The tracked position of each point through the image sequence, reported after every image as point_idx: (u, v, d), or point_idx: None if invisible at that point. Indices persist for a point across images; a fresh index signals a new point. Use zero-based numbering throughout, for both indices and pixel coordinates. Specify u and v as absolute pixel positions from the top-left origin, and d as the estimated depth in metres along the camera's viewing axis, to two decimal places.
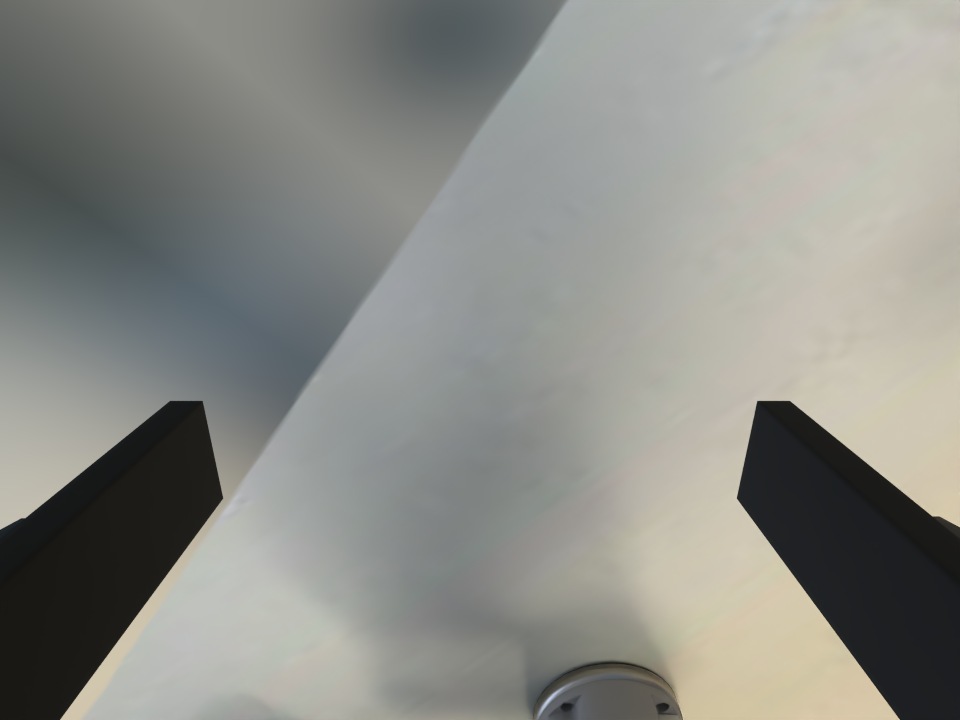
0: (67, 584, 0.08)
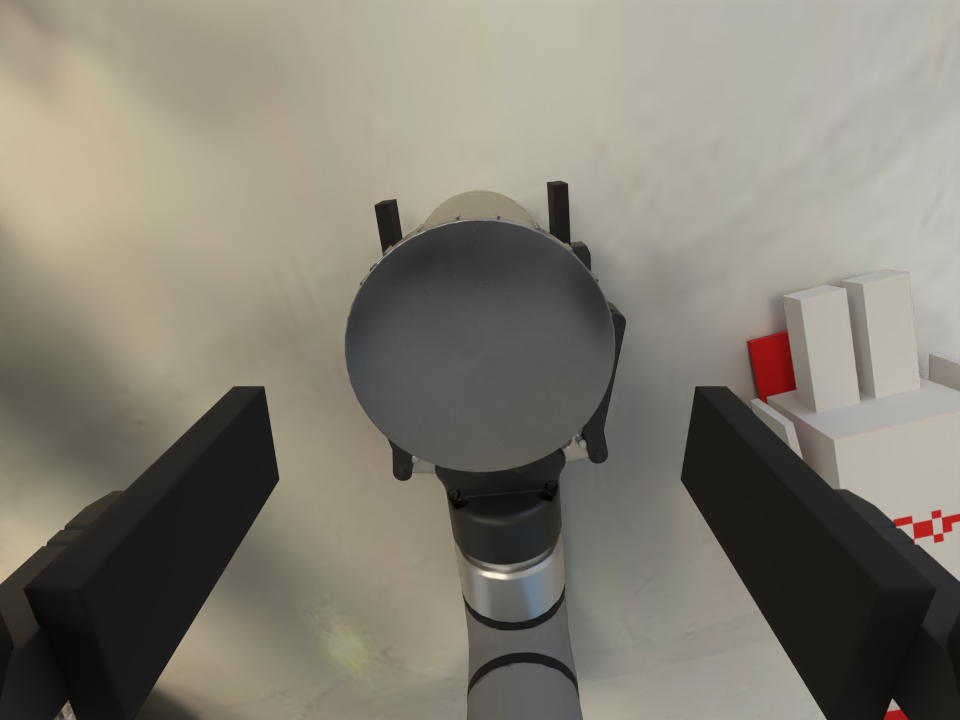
0: (167, 548, 0.09)
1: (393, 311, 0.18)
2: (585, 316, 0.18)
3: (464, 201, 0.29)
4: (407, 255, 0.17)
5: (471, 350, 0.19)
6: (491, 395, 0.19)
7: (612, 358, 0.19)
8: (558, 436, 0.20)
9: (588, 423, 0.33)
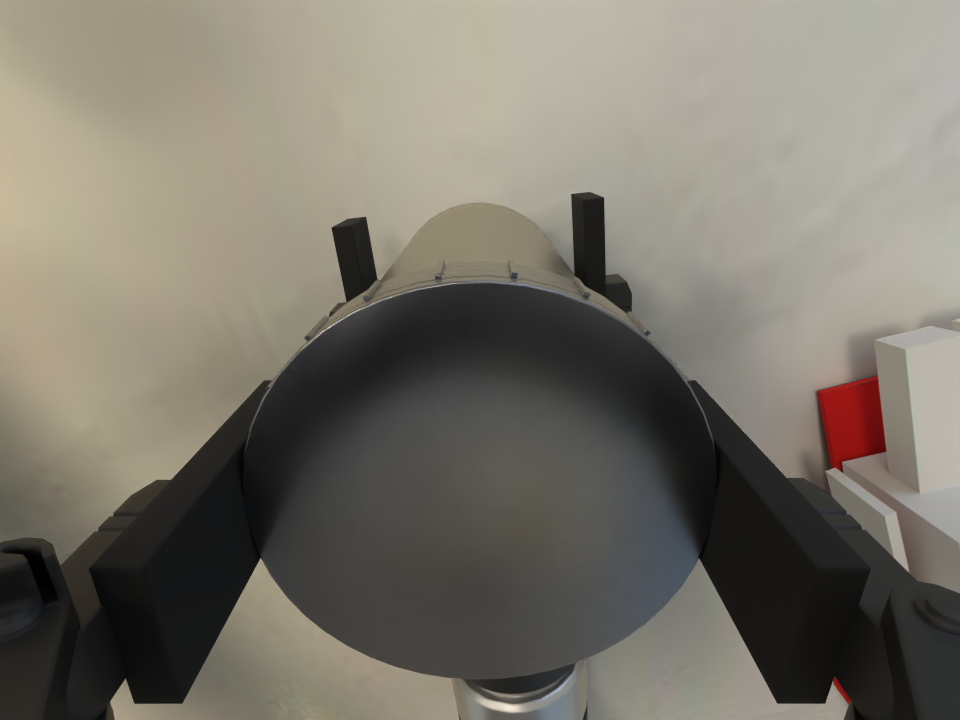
0: (214, 533, 0.09)
1: (324, 439, 0.10)
2: (668, 447, 0.10)
3: (458, 221, 0.21)
4: (345, 345, 0.09)
5: (464, 501, 0.11)
6: (499, 570, 0.11)
7: (711, 514, 0.11)
8: (611, 629, 0.12)
9: None
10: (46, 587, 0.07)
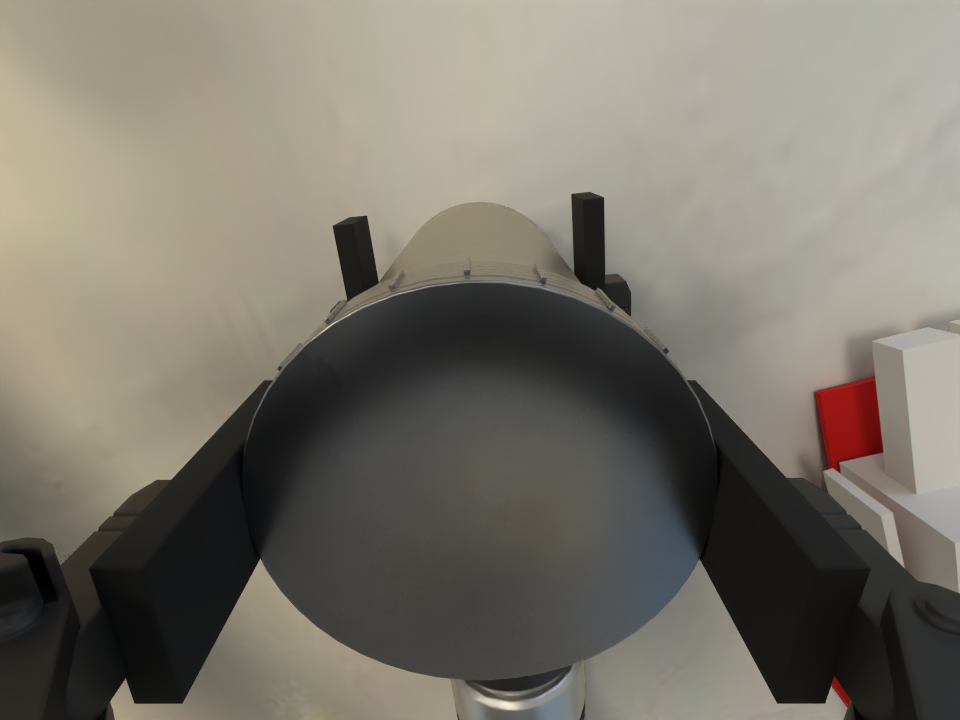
0: (214, 533, 0.09)
1: (492, 638, 0.12)
2: (303, 419, 0.10)
3: (458, 220, 0.21)
4: (410, 657, 0.12)
5: (477, 528, 0.11)
6: (530, 462, 0.10)
7: (329, 330, 0.09)
8: (534, 311, 0.09)
9: None
10: (46, 587, 0.07)
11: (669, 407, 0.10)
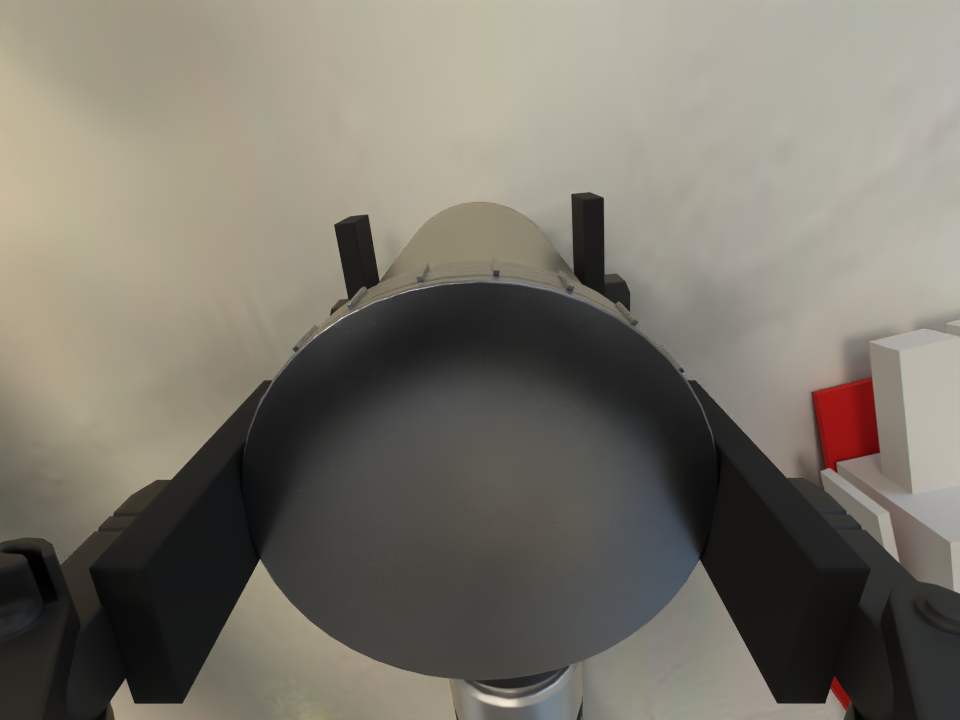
0: (214, 533, 0.09)
1: (620, 417, 0.10)
2: (485, 654, 0.12)
3: (459, 219, 0.21)
4: (695, 472, 0.10)
5: (497, 505, 0.11)
6: (403, 507, 0.11)
7: (407, 668, 0.12)
8: (291, 576, 0.11)
9: None
10: (46, 587, 0.07)
11: (273, 446, 0.10)
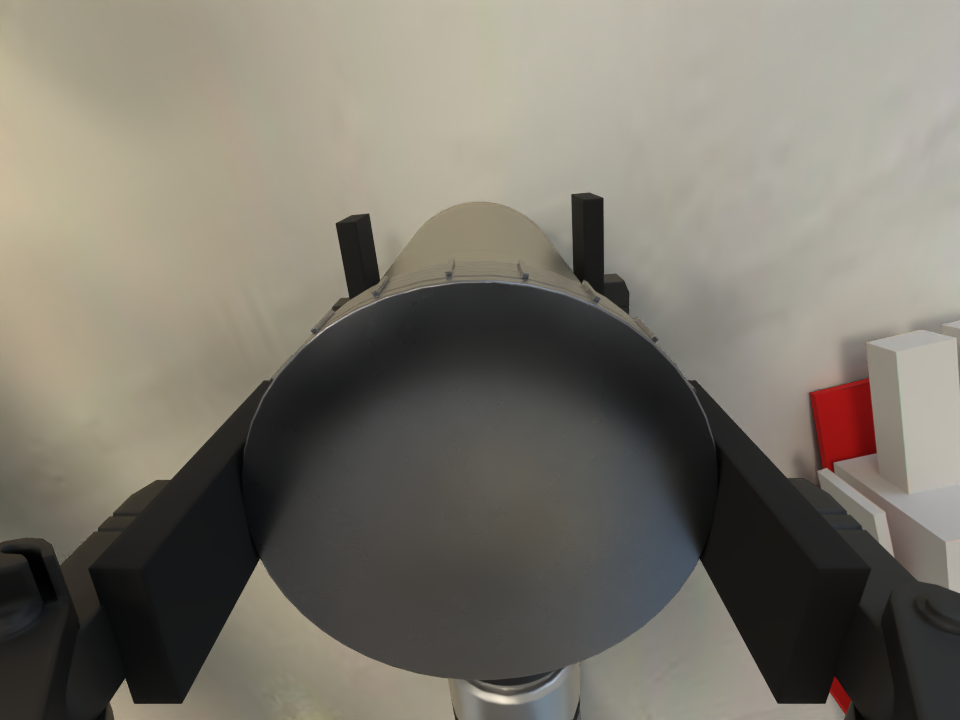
0: (213, 533, 0.09)
1: (311, 474, 0.10)
2: (649, 409, 0.10)
3: (460, 219, 0.21)
4: (304, 380, 0.10)
5: (462, 505, 0.11)
6: (516, 565, 0.11)
7: (714, 466, 0.10)
8: (646, 603, 0.12)
9: None
10: (46, 587, 0.07)
11: (522, 661, 0.12)
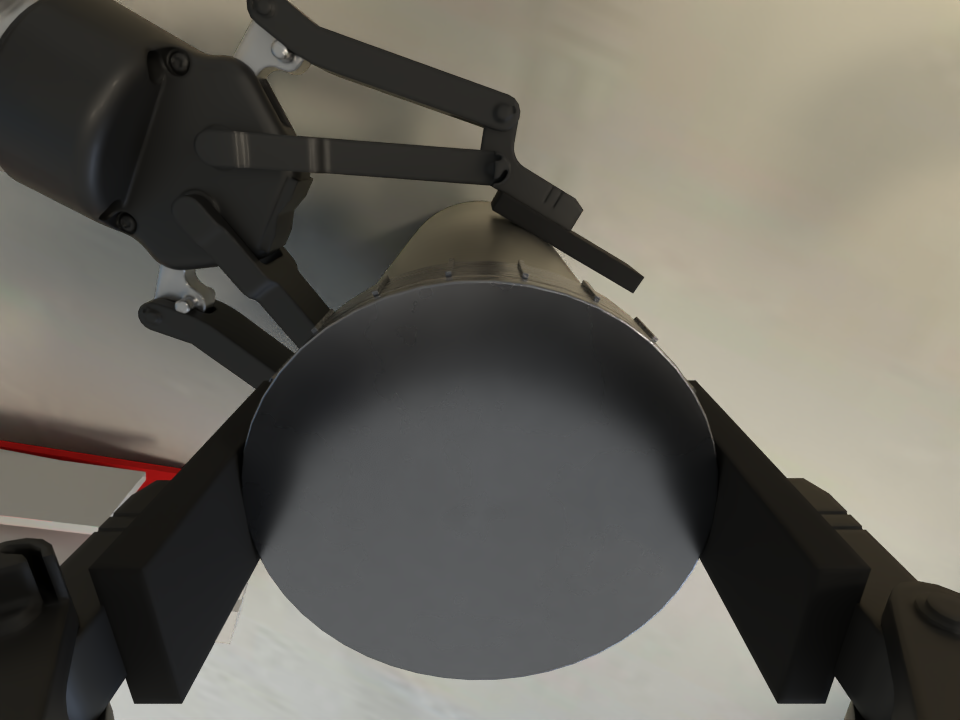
0: (213, 533, 0.09)
1: (311, 474, 0.10)
2: (649, 409, 0.10)
3: None
4: (304, 380, 0.10)
5: (462, 505, 0.11)
6: (516, 565, 0.11)
7: (714, 466, 0.10)
8: (646, 602, 0.12)
9: (212, 332, 0.22)
10: (46, 587, 0.07)
11: (522, 661, 0.12)
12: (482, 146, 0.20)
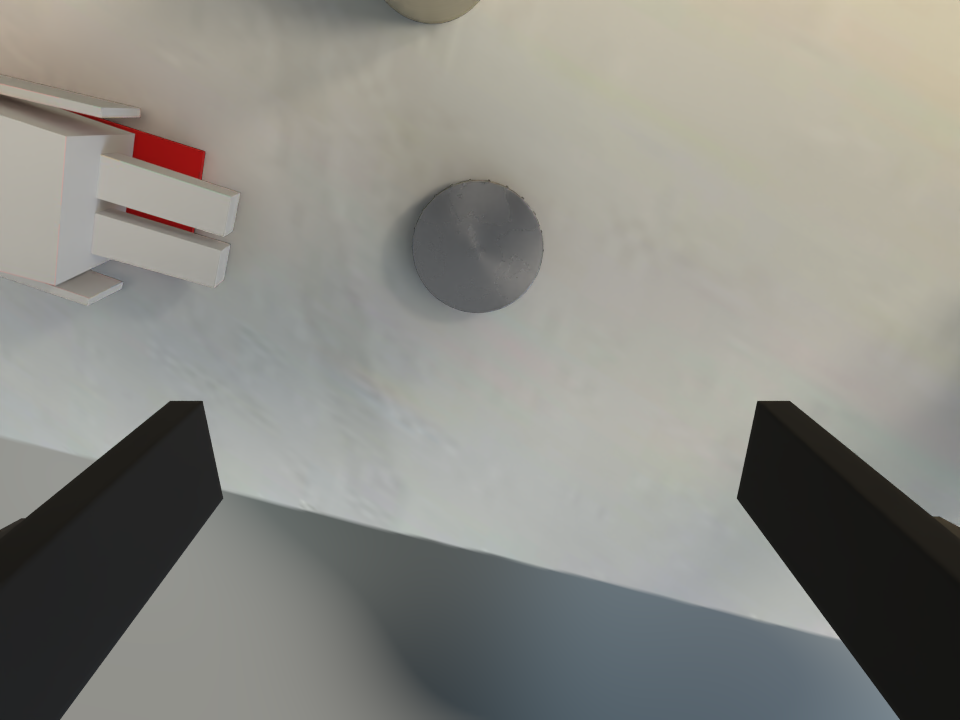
0: (67, 584, 0.08)
1: (432, 237, 0.38)
2: (521, 217, 0.38)
3: None
4: (432, 208, 0.38)
5: (472, 247, 0.39)
6: (488, 268, 0.39)
7: (540, 234, 0.38)
8: (526, 281, 0.39)
9: None
10: None
11: (490, 304, 0.40)
12: None
